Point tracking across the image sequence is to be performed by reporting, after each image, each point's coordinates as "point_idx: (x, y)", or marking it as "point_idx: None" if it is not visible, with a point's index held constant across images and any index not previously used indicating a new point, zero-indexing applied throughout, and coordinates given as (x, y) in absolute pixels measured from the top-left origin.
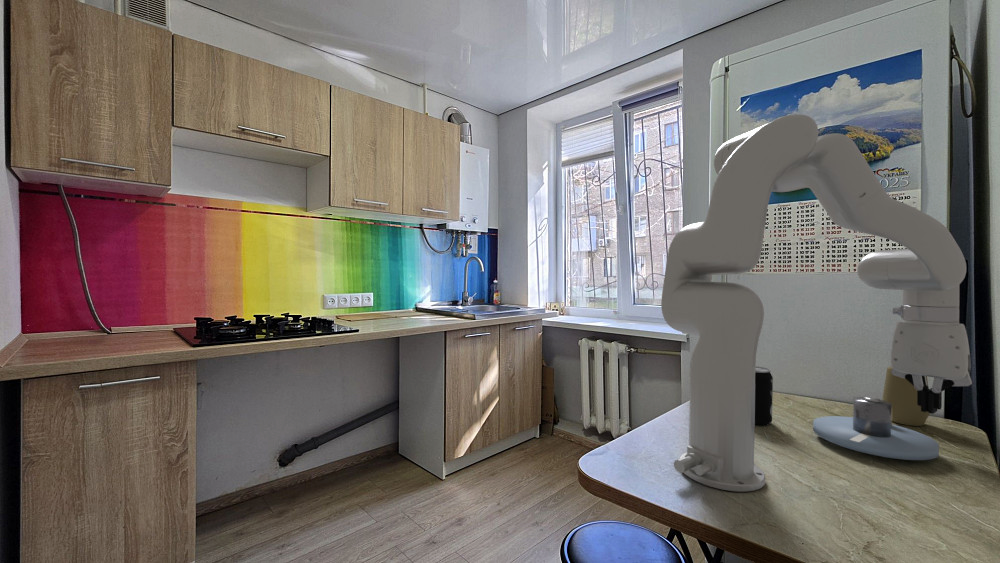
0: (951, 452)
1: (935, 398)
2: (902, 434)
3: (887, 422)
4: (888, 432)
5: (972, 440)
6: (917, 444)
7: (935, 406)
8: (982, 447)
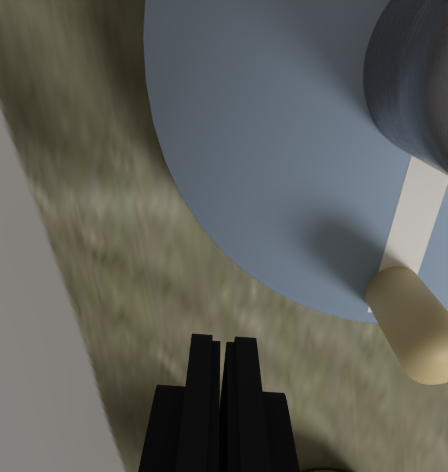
0: (157, 278)
1: (167, 452)
2: (314, 170)
3: (427, 4)
4: (386, 25)
5: None
6: (231, 15)
7: (177, 394)
8: (108, 412)
